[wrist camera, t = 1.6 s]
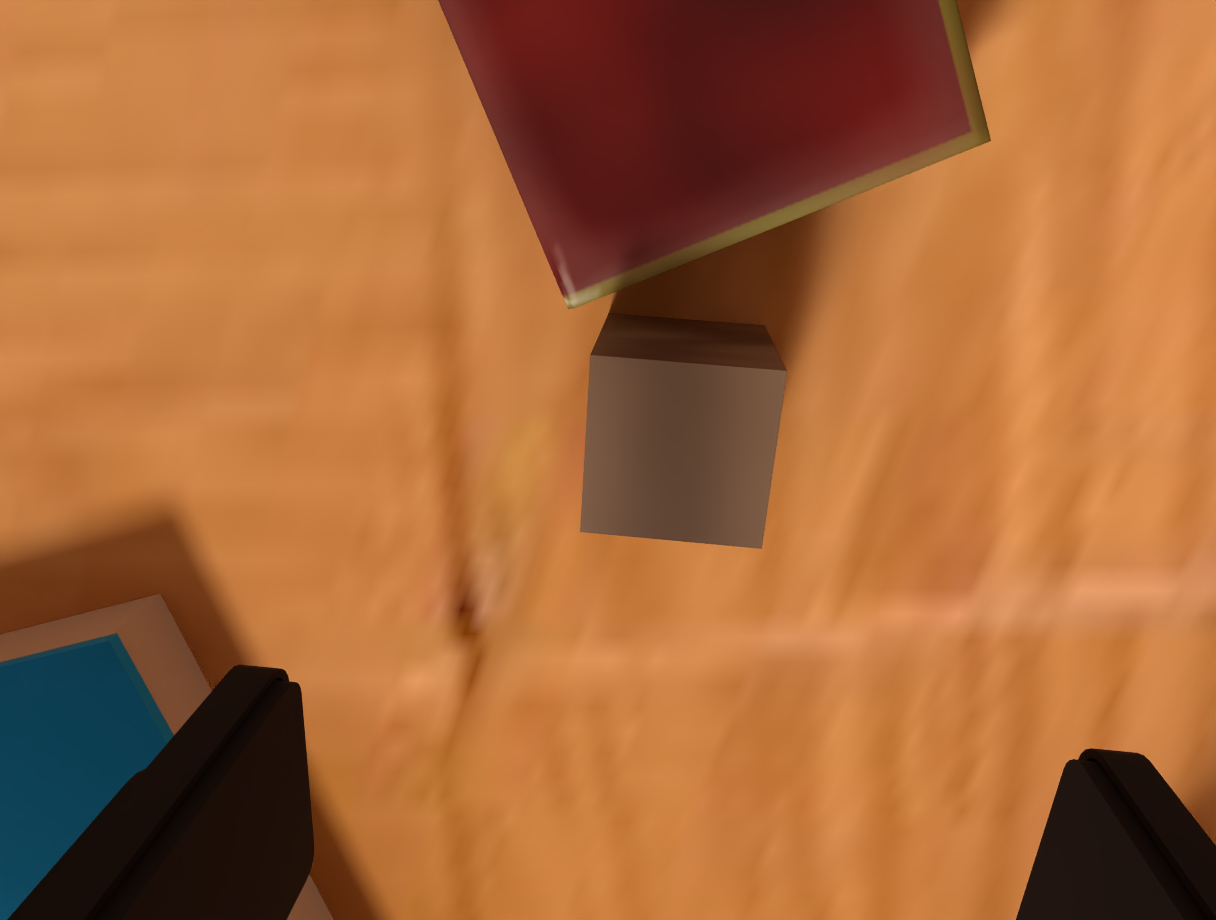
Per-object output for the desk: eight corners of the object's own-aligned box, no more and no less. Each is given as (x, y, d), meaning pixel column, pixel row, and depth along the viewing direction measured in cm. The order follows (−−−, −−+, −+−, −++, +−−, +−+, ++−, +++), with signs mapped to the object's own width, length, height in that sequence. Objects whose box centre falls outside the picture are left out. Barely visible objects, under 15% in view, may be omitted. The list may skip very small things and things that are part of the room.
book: (105, 634, 29) (382, 1127, 36) (177, 576, 33) (412, 1029, 40) (-276, 735, 32) (50, 1170, 39) (-167, 670, 36) (110, 1075, 43)
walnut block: (764, 325, 27) (786, 370, 21) (745, 470, 28) (761, 548, 23) (608, 313, 27) (590, 354, 21) (599, 457, 29) (580, 531, 23)
